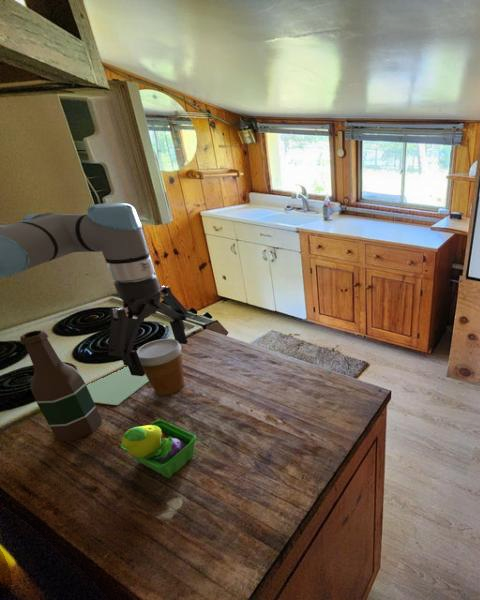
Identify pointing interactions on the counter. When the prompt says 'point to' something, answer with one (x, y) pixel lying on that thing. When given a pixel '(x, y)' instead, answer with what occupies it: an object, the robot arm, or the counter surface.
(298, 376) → the counter surface
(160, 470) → the fruit basket
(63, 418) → the beer bottle
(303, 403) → the counter surface
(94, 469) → the counter surface
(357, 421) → the counter surface
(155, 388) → the disposable coffee cup
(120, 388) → the mat
